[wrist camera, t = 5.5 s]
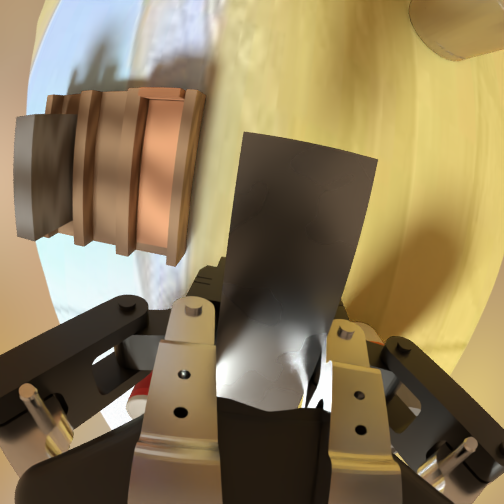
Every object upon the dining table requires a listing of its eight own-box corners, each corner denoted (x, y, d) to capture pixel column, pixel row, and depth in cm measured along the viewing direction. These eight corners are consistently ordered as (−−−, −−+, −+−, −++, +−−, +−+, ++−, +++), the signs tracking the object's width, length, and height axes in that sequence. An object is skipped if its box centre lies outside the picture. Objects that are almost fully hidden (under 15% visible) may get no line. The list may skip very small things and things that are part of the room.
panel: (259, 138, 13) (243, 131, 6) (319, 149, 13) (377, 159, 6) (229, 337, 18) (206, 445, 10) (275, 344, 18) (274, 453, 10)
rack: (65, 96, 24) (10, 94, 16) (206, 95, 25) (175, 76, 16) (59, 227, 31) (11, 255, 22) (185, 253, 31) (154, 297, 22)
